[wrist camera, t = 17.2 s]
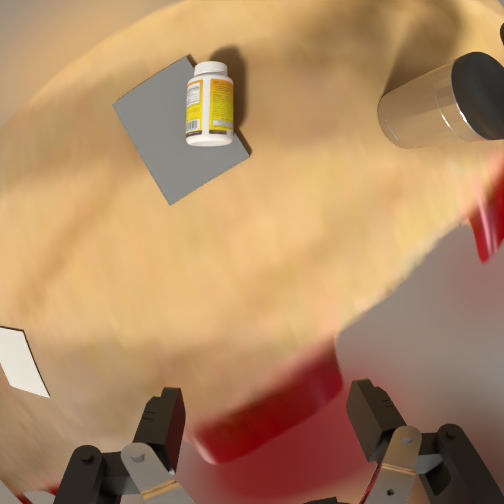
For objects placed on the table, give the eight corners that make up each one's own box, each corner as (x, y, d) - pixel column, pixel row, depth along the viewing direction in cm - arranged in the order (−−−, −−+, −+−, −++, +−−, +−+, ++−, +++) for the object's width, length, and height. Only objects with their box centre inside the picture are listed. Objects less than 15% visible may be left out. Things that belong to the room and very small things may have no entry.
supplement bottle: (236, 146, 35) (237, 72, 32) (227, 140, 29) (229, 56, 27) (193, 148, 35) (195, 76, 33) (178, 143, 30) (182, 61, 27)
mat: (187, 59, 33) (185, 56, 32) (249, 157, 36) (249, 156, 35) (114, 106, 34) (111, 104, 33) (171, 204, 37) (169, 205, 36)
